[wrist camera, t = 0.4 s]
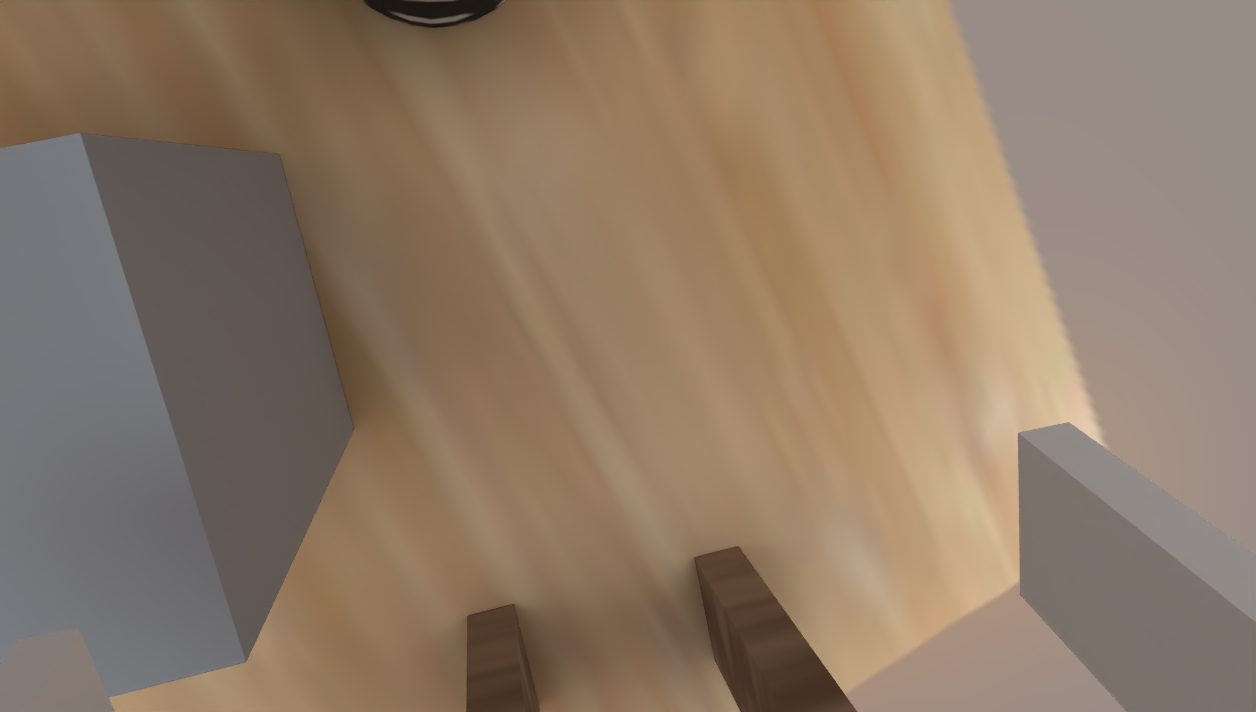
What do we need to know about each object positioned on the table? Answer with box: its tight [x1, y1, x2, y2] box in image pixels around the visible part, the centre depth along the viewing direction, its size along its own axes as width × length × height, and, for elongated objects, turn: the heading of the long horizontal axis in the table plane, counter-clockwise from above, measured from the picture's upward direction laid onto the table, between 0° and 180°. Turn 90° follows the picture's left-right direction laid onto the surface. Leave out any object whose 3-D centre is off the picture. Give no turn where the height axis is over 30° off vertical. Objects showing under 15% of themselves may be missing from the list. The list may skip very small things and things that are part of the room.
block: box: [0, 133, 354, 697], centre depth 28 cm, size 11×11×19 cm
